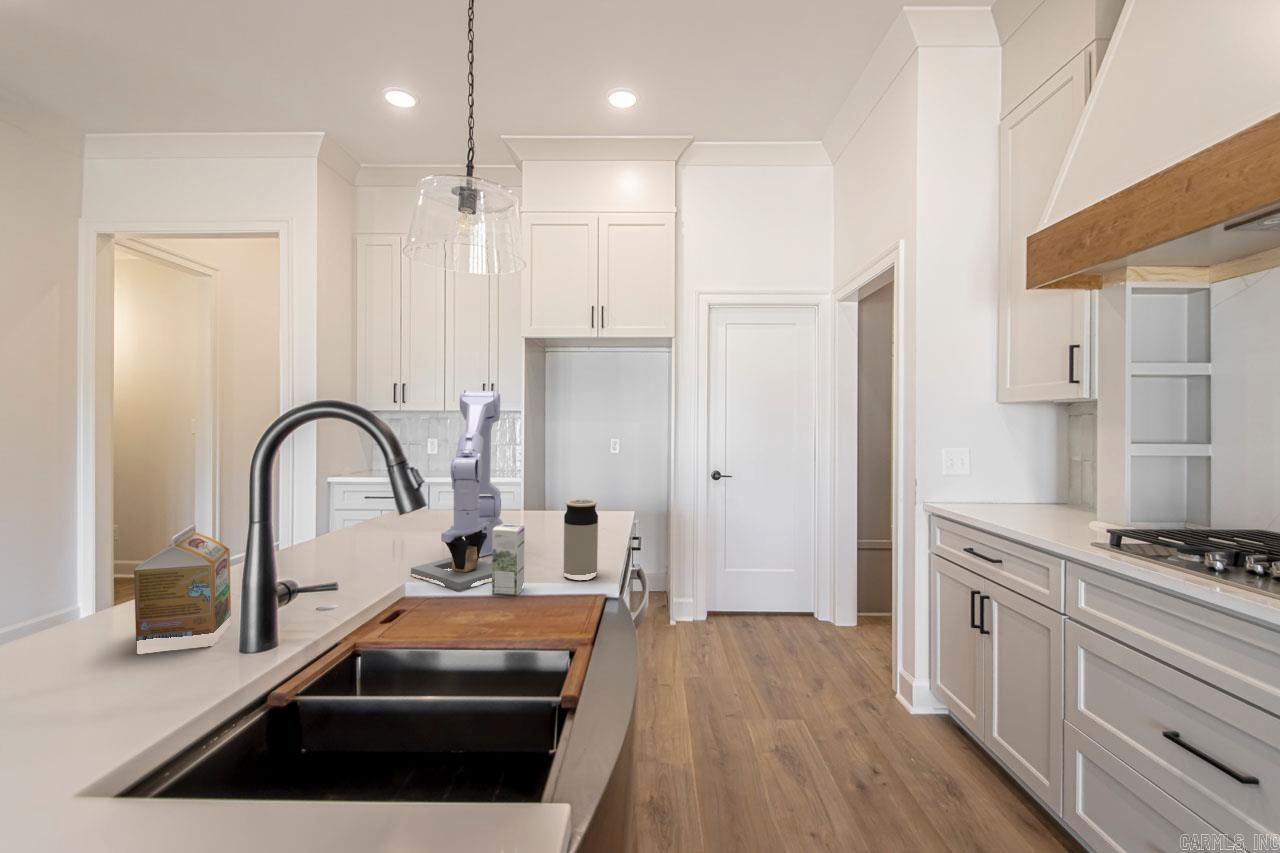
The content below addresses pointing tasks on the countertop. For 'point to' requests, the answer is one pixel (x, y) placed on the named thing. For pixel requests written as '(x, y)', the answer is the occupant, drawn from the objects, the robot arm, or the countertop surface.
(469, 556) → the keyhole peg
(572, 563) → the travel mug
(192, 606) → the milk carton
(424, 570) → the keyhole board
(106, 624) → the countertop surface
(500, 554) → the syrup box
